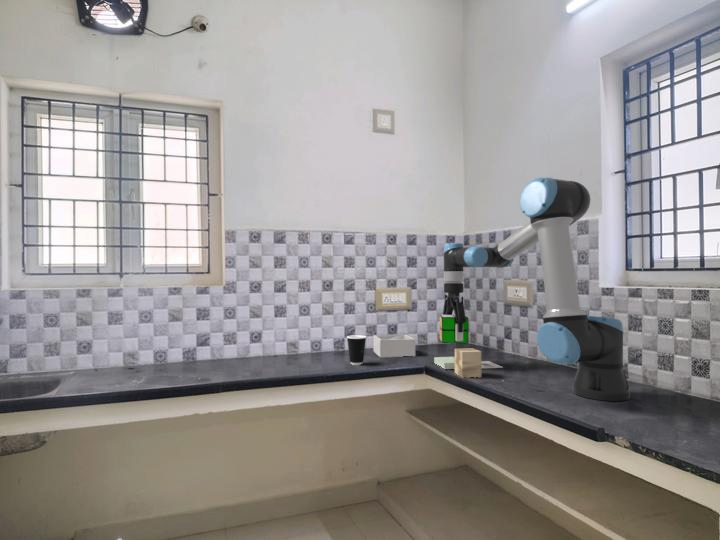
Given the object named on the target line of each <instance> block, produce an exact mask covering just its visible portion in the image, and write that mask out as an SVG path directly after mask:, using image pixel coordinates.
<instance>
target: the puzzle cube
mask: <svg viewBox="0 0 720 540" xmlns="http://www.w3.org/2000/svg"><path fill="white" fill-rule="evenodd" d="M465 318H466V322H464V324H463V341H456V324H455V322H456V317H455V314H452V315H443V314H439V340H440V341H441V344H469V341H470V340H469V338H470V337H469V336H470V335H469V317H468V316H466V315H465Z"/></svg>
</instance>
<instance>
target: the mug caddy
mask: <svg viewBox="0 0 720 540" xmlns="http://www.w3.org/2000/svg"><path fill="white" fill-rule="evenodd" d="M395 336H399V337H401V338H403V339H394V340H389V339H391V338H393V337H395ZM373 353H375V354H376V355H377V356H378V357H379V358H404V357H403V356H413V357H416V338H413V337H411V336H409V335H407V334H377V335H376V334H373Z"/></svg>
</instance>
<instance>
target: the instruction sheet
mask: <svg viewBox="0 0 720 540" xmlns="http://www.w3.org/2000/svg"><path fill="white" fill-rule="evenodd" d="M502 368H503V369H504V367H503V366H501V365H499V364H496V363H495V362H492V361H490V360H488V361H487V360H486V361H483V360H481V369H502Z"/></svg>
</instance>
